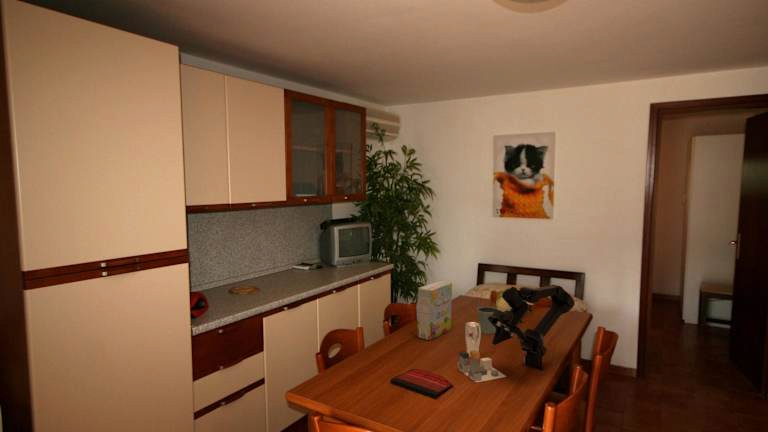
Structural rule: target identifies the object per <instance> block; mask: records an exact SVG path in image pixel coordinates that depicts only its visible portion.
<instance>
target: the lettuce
mask: <svg viewBox="0 0 768 432" xmlns="http://www.w3.org/2000/svg"><path fill="white" fill-rule="evenodd" d="M507 289H511V287H507V288H505V289H504V290H502V291H501V292H500V293H498V295H497V296H496V297H497V298H496V301H495V306H496V307H495V308H496V309H498V310H500V311H502V312H504V311H507V310H508V311H510V310H511V307H510V306H509V305H508V304H507V303H506V301H505V300H504V299H503V297H502V295H503V292H504V291H506V290H507ZM517 290H519V289H518V288H517ZM524 302H525V301H524Z"/></svg>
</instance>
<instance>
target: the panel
mask: <svg viewBox="0 0 768 432" xmlns="http://www.w3.org/2000/svg"><path fill="white" fill-rule="evenodd" d="M457 369H458V370H459V371H460V372H461V373H463V375H466V376H467V377H469V379H470V380H472V381H473V382H475V383H480V382H486V381H487V382H488V381H491V380H492V381H493V380H496V379H501V378H506V377H507V375H505V374H503V373H502V372H500V371H499V370H497V369H496V368H494V367H493V366H492V369H489V370H486V369H484V368H483V367H481V366H480V364H479V373H477V374H474V376H473V375H472V374H471V373H470V364H468V366H463V367H461V366H460V361H459V362H457Z"/></svg>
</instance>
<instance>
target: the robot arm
mask: <svg viewBox="0 0 768 432" xmlns="http://www.w3.org/2000/svg"><path fill="white" fill-rule="evenodd" d="M510 288H511V289H507V288H506V289H507V290H506V291H504V290H503V291H504V292H503V295H502V297H503V299H504V300H505V301H506V303H507V304H508V305H509V306H510V307H511V310H510V311H508V310H507V311H504V312H502V311H500V310H498V309H497V308H496V309H495V310H494V312H493V315H491V316H489V317H488V319H487V320H488V321H489V322H490V323H491V324H492V325H493V326H494V327H495V328H496V332H495V333H494V336H493V338H492V342H491V344H492V345H493V346H496V345H498V344H500V343H502V342H504V341H507V340H510V339H514V337H513V336H514V335H515V336H516V337H517V340H519V343H520V347H521V350H522V351H524V352H525V353H524V355H523V364H524V366H528V367H531V368H536V369H537V370H540V371H541V370H544V368H543V357H544V356H545V355H546V354H547V348H546V347H545V346H544V343H545V342H544V341H545V337H546V335H547V334H548V333H549V332H550V330H551V329H552V328H553V326H554V325H555V323H556V322H557V321H558V319H559V318H560V317H561V316H562V315H563V314H566V313H567V314H568V313H569V312H570V311H571V310H572V309H573V307H574V306H575V300H574V298H573V297H572V296H571V294H570V293H568V292H567V291H566V290H565V289H564V288H563V286H561V285H556V284H550V285H546V286H541V287H530V286H529V287H527V286H522V287H520V289H518V288H517V287H515V286H511V287H510ZM517 289H518V290H517ZM549 297H550V299H551V307H550V308H549V309H548V311H547V312H546V314H545V315H543V317H542V318H541V320H540V321H539V322H538V324H537V325H536V326H535V327H534V328H533V329H530V328H527V329H526V330H525V331H524V332H523V330H522V329H521V328H520V327H518V326H519V324H522V323H523V318H524V317H525V316H526V315H527V314H528V313H531V314H532V313H533V309H532V305H533V304H534V305H535V304H537V303H539V302H540V301H541V299H544V298H549ZM524 301H525V302H524ZM528 303H529V304H528ZM530 304H532V305H530Z"/></svg>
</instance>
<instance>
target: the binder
mask: <svg viewBox="0 0 768 432" xmlns="http://www.w3.org/2000/svg"><path fill="white" fill-rule="evenodd" d="M391 383H392V384H391ZM390 384H391V385H393V386H397V387H399V388H403V389H405V390H408V391H412V392H414V393H418V394H420V395H422V396H423V395H424V396H425V397H429V398H431V399H435V400H437V396H438V395H439V394H441V395H443V394H445V393H446V392H448V391H449V390H451V389H452V388H453V387H454V385H453V384H452V383H451V382H449V380H448V379H446V378H445V377H443V376H441V375H438V374H436V373H435V374H434V373H431V372H429V371H426V370H421V369H418V368H411V369H409V370H407V371H404V372H403V373H401V374H398V375H396V376H394V377H392V378H390Z"/></svg>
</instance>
